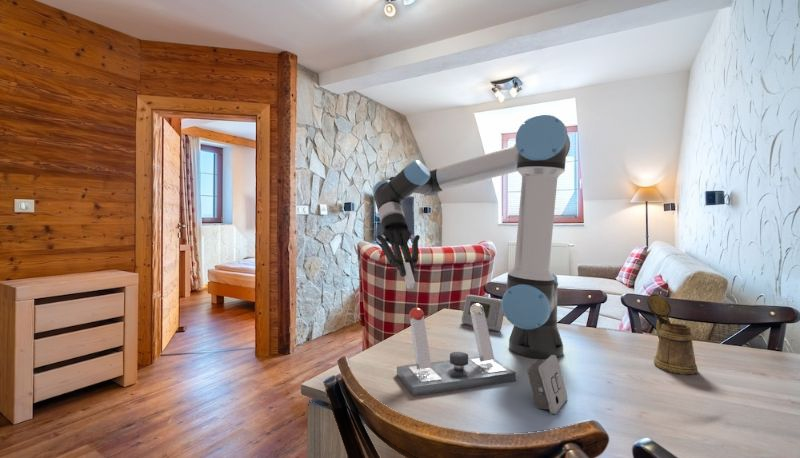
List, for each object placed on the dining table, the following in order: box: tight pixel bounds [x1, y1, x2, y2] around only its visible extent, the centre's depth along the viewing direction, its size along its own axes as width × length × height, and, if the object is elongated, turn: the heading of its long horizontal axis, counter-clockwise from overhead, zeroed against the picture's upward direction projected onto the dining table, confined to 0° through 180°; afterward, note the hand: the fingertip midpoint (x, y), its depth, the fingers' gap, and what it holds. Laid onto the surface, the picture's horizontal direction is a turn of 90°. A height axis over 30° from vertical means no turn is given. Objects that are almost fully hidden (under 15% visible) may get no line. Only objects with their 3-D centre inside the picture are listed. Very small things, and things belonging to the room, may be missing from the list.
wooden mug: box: [646, 292, 699, 375], centre depth 99 cm, size 9×14×18 cm, turn 0°
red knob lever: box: [408, 307, 432, 370], centre depth 91 cm, size 4×4×14 cm
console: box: [396, 356, 517, 397], centre depth 90 cm, size 26×12×4 cm, turn 108°
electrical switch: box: [526, 355, 568, 415], centre depth 78 cm, size 9×5×9 cm, turn 141°
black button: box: [449, 351, 469, 366], centre depth 91 cm, size 4×4×2 cm
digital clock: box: [461, 294, 505, 332], centre depth 135 cm, size 16×9×11 cm, turn 35°
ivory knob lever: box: [470, 303, 495, 362], centre depth 96 cm, size 4×4×14 cm
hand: (411, 285), depth 96 cm, fingers closed
